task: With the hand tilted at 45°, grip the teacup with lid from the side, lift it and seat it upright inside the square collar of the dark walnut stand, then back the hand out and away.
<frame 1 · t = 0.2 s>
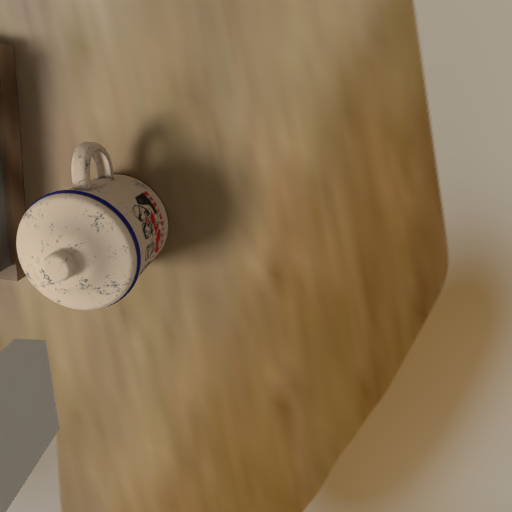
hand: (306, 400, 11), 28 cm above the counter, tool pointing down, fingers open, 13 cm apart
teacup with lid: (122, 204, 39), on the counter
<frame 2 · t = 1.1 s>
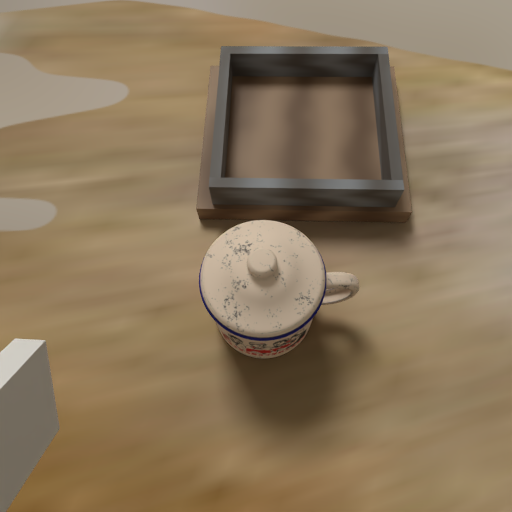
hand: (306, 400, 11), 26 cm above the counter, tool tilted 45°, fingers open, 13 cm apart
teacup with lid: (279, 310, 39), on the counter
collar stand: (300, 144, 46), on the counter
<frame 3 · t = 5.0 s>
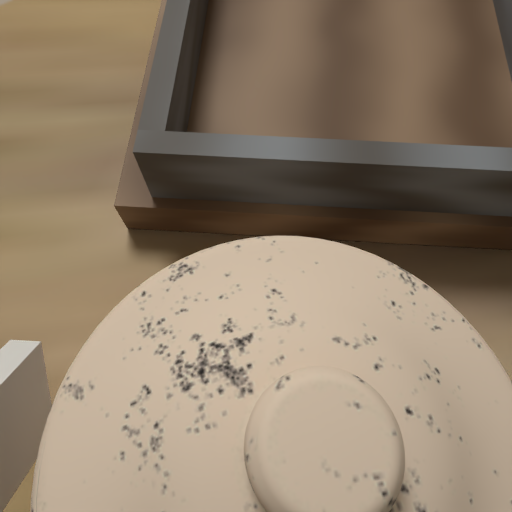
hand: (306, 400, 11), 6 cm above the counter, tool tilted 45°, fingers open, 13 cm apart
teacup with lid: (299, 460, 16), on the counter, touching gripper
collar stand: (344, 89, 23), on the counter
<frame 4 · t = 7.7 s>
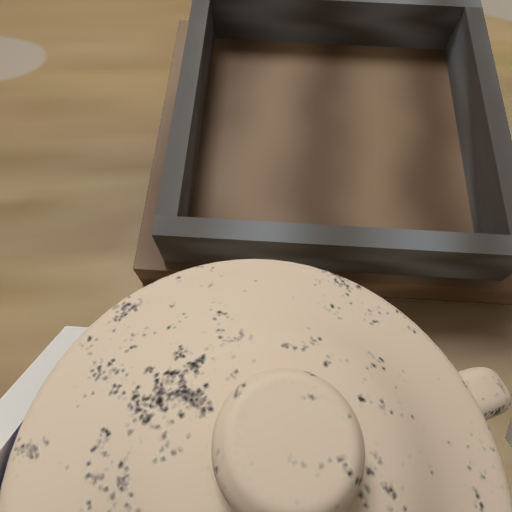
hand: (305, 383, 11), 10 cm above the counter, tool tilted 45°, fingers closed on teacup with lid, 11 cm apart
teacup with lid: (274, 490, 16), point 5 cm above the counter, touching gripper
collar stand: (324, 156, 27), on the counter
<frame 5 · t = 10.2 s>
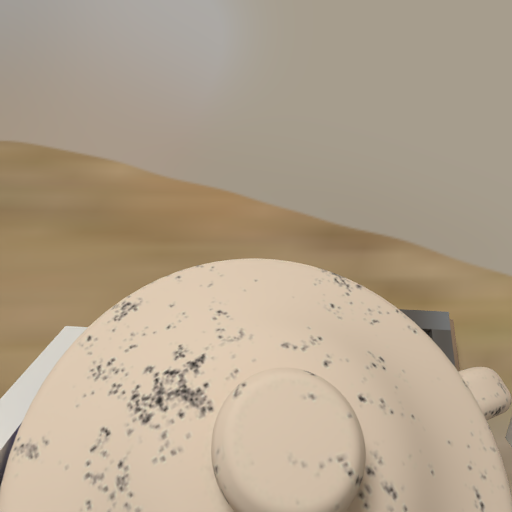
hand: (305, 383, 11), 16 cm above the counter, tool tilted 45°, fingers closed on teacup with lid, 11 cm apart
teacup with lid: (274, 490, 16), point 10 cm above the counter, touching gripper
collar stand: (281, 472, 25), on the counter
when the fingers open (8 cm above the counter, at t = 12.8 s): teacup with lid stays where it is, resting on collar stand.
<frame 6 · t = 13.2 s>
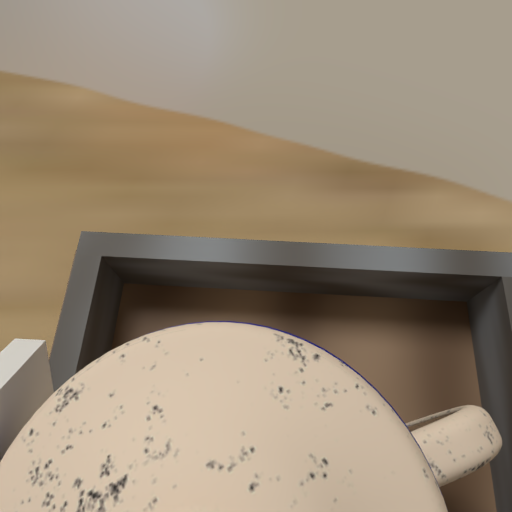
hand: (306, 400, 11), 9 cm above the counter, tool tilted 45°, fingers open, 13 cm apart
teacup with lid: (274, 490, 16), point 2 cm above the counter, touching collar stand, gripper
collar stand: (285, 481, 18), on the counter
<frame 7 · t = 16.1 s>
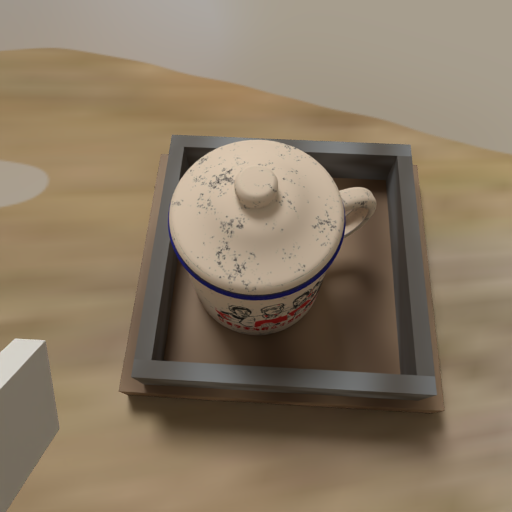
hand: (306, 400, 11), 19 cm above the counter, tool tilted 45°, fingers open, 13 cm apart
teacup with lid: (276, 269, 30), point 2 cm above the counter, touching collar stand
collar stand: (282, 276, 32), on the counter
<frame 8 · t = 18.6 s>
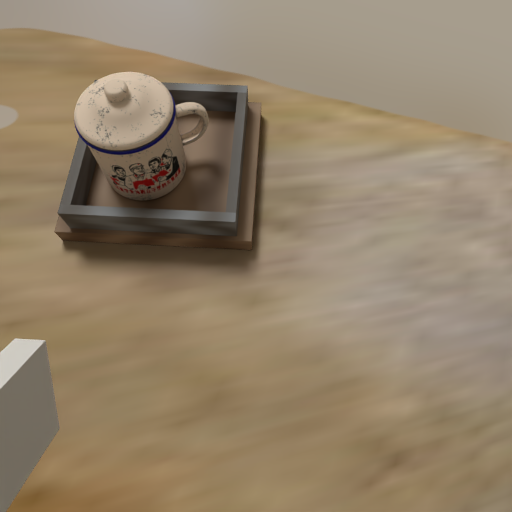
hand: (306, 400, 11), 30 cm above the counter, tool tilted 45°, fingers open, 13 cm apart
teacup with lid: (160, 165, 47), point 2 cm above the counter, touching collar stand
collar stand: (168, 173, 49), on the counter
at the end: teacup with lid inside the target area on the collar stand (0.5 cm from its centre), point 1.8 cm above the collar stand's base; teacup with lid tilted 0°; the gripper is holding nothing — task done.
